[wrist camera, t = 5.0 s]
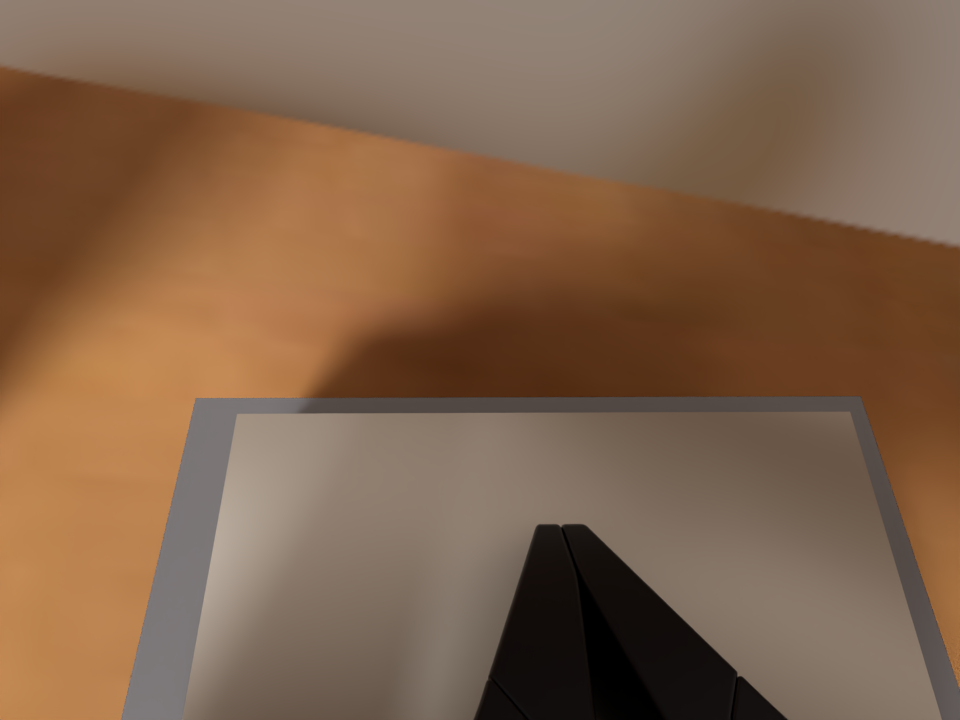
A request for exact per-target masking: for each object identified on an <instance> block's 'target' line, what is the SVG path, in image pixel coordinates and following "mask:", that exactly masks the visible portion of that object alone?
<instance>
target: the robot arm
mask: <svg viewBox="0 0 960 720" xmlns="http://www.w3.org/2000/svg"><path fill="white" fill-rule="evenodd" d="M737 677H738V678H737ZM473 720H788V719H787V718H786V717H785V716H784V715H783V714H782V713H781V712H780V711H778V710H777V709H776V708H775V707H774V706H773V705H772V704H771V703H770V702H769V701H768V700H767V699H766V698H764V697H763V696H762V695H761V694H760V693H759V692H758V691H757V690H756V689H755V688H754V687H753V686H752V685H751V684H750V683H749V682H748V681H747V680H746V679H745V678H744V677H742V676H738V672H737V671H736V670H735V669H734V668H733V667H732V666H731V665H730V664H729V663H728V662H727V661H726V660H725V659H724V658H723V657H722V656H721V655H720V654H719V653H718V652H717V651H716V650H715V649H714V648H713V647H711V646H710V645H709V644H708V643H707V642H706V641H705V640H704V639H703V638H702V637H701V636H700V635H699V634H698V633H697V632H696V631H695V630H694V629H693V628H692V627H691V626H690V625H689V624H688V623H687V622H686V621H685V620H684V619H683V618H682V617H680V616H679V615H678V614H677V613H676V612H675V611H674V610H673V609H672V608H671V607H670V606H669V605H668V604H667V603H666V602H665V601H664V600H663V599H662V598H661V597H660V596H659V595H658V594H657V593H656V592H655V591H654V590H653V589H652V588H651V587H650V586H648V585H647V584H646V583H645V582H644V581H643V580H642V579H641V578H640V577H639V576H638V575H637V574H636V573H635V572H634V571H633V570H632V569H631V568H630V567H629V566H628V565H627V564H626V563H625V562H624V561H623V560H622V559H621V558H620V557H619V556H617V555H616V554H615V553H614V552H613V551H612V550H611V549H610V548H609V547H608V546H607V545H606V544H605V543H604V542H603V541H602V540H601V539H600V538H599V537H598V536H597V535H596V534H595V533H594V532H593V531H592V530H591V529H590V528H589V527H588V526H586V525H584V524H563V525H562V526H561V527H560V526H559V525H558V524H538V525H537V526H536V528H535V531H534V534H533V537H532V540H531V543H530V546H529V550H528V553H527V556H526V559H525V562H524V565H523V568H522V572H521V575H520V578H519V581H518V584H517V587H516V590H515V594H514V597H513V600H512V603H511V606H510V609H509V612H508V616H507V619H506V622H505V625H504V628H503V631H502V634H501V638H500V641H499V644H498V647H497V650H496V653H495V656H494V660H493V663H492V666H491V669H490V672H489V675H488V680H487V681H486V684H485V687H484V690H483V693H482V696H481V699H480V702H479V705H478V708H477V711H476V714H475V716H474V719H473Z"/></svg>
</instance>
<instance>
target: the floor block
mask: <svg viewBox="0 0 960 720" xmlns="http://www.w3.org/2000/svg"><path fill="white" fill-rule="evenodd" d="M602 412H850V413H851V417H852V420H853V423H854V427H855V430H856V433H857V437H858V440H859V443H860V447H861V450H862V454H863V457H864V460H865V464H866V467H867V470H868V474H869V477H870V480H871V484H872V487H873V490H874V494H875V497H876V500H877V504H878V507H879V510H880V514H881V517H882V521H883V524H884V527H885V531H886V534H887V537H888V541H889V544H890V547H891V551H892V554H893V557H894V561H895V564H896V567H897V571H898V574H899V577H900V581H901V584H902V587H903V591H904V594H905V598H906V601H907V604H908V608H909V611H910V614H911V618H912V621H913V624H914V628H915V631H916V634H917V638H918V641H919V644H920V648H921V651H922V654H923V658H924V661H925V665H926V668H927V671H928V675H929V678H930V681H931V685H932V688H933V691H934V695H935V698H936V701H937V705H938V708H939V711H940V715H941V718H942V720H960V690H959V687H958V684H957V681H956V678H955V675H954V672H953V669H952V666H951V663H950V660H949V657H948V654H947V651H946V648H945V645H944V642H943V639H942V636H941V633H940V630H939V627H938V624H937V622H936V619H935V616H934V613H933V610H932V607H931V604H930V601H929V598H928V595H927V592H926V589H925V586H924V583H923V580H922V577H921V574H920V571H919V568H918V565H917V562H916V559H915V556H914V553H913V550H912V547H911V544H910V541H909V538H908V535H907V532H906V529H905V526H904V523H903V520H902V518H901V515H900V512H899V509H898V506H897V503H896V500H895V497H894V494H893V491H892V488H891V485H890V482H889V479H888V476H887V473H886V470H885V467H884V464H883V461H882V458H881V455H880V452H879V449H878V446H877V443H876V440H875V437H874V434H873V431H872V428H871V425H870V422H869V419H868V417H867V414H866V411H865V408H864V405H863V402H862V399H861V396H799V397H458V398H196V400H195V404H194V408H193V413H192V417H191V421H190V426H189V430H188V434H187V438H186V443H185V447H184V451H183V456H182V460H181V464H180V469H179V473H178V477H177V481H176V486H175V490H174V494H173V499H172V503H171V507H170V511H169V516H168V520H167V524H166V529H165V533H164V537H163V542H162V546H161V550H160V554H159V559H158V563H157V567H156V572H155V576H154V580H153V585H152V589H151V593H150V597H149V602H148V606H147V610H146V615H145V619H144V623H143V628H142V632H141V636H140V640H139V645H138V649H137V653H136V658H135V662H134V666H133V671H132V675H131V679H130V683H129V688H128V692H127V696H126V701H125V705H124V709H123V713H122V718H121V720H182V717H183V712H184V706H185V701H186V695H187V690H188V684H189V678H190V673H191V667H192V662H193V656H194V651H195V645H196V639H197V634H198V628H199V623H200V617H201V612H202V606H203V601H204V595H205V589H206V584H207V578H208V573H209V567H210V562H211V556H212V551H213V545H214V539H215V534H216V528H217V523H218V517H219V512H220V506H221V500H222V495H223V489H224V484H225V478H226V473H227V467H228V462H229V456H230V450H231V445H232V439H233V434H234V428H235V423H236V417H237V414H322V413H602Z"/></svg>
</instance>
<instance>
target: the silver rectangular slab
mask: <svg viewBox="0 0 960 720" xmlns="http://www.w3.org/2000/svg"><path fill="white" fill-rule="evenodd" d="M538 524H558V525H559V526H560V527H561V526H562V525H563V524H584V525H586V526H588V527H589V528H590V529H591V530H592V531H593V532H594V533H595V534H596V535H597V536H598V537H599V538H600V539H601V540H602V541H603V542H604V543H605V544H606V545H607V546H608V547H609V548H610V549H611V550H612V551H613V552H614V553H615V554H616V555H617V556H619V557H620V558H621V559H622V560H623V561H624V562H625V563H626V564H627V565H628V566H629V567H630V568H631V569H632V570H633V571H634V572H635V573H636V574H637V575H638V576H639V577H640V578H641V579H642V580H643V581H644V582H645V583H646V584H647V585H648V586H650V587H651V588H652V589H653V590H654V591H655V592H656V593H657V594H658V595H659V596H660V597H661V598H662V599H663V600H664V601H665V602H666V603H667V604H668V605H669V606H670V607H671V608H672V609H673V610H674V611H675V612H676V613H677V614H678V615H679V616H680V617H682V618H683V619H684V620H685V621H686V622H687V623H688V624H689V625H690V626H691V627H692V628H693V629H694V630H695V631H696V632H697V633H698V634H699V635H700V636H701V637H702V638H703V639H704V640H705V641H706V642H707V643H708V644H709V645H710V646H711V647H713V648H714V649H715V650H716V651H717V652H718V653H719V654H720V655H721V656H722V657H723V658H724V659H725V660H726V661H727V662H728V663H729V664H730V665H731V666H732V667H733V668H734V669H735V670H736V671H737V672H738V676H742V677H744V678H745V679H746V680H747V681H748V682H749V683H750V684H751V685H752V686H753V687H754V688H755V689H756V690H757V691H758V692H759V693H760V694H761V695H762V696H763V697H764V698H766V699H767V700H768V701H769V702H770V703H771V704H772V705H773V706H774V707H775V708H776V709H777V710H778V711H780V712H781V713H782V714H783V715H784V716H785V717H786V718H787V719H788V720H942V718H941V715H940V711H939V708H938V705H937V701H936V698H935V695H934V691H933V688H932V685H931V681H930V678H929V675H928V671H927V668H926V665H925V661H924V658H923V654H922V651H921V648H920V644H919V641H918V638H917V634H916V631H915V628H914V624H913V621H912V618H911V614H910V611H909V608H908V604H907V601H906V598H905V594H904V591H903V587H902V584H901V581H900V577H899V574H898V571H897V567H896V564H895V561H894V557H893V554H892V551H891V547H890V544H889V541H888V537H887V534H886V531H885V527H884V524H883V521H882V517H881V514H880V510H879V507H878V504H877V500H876V497H875V494H874V490H873V487H872V484H871V480H870V477H869V474H868V470H867V467H866V464H865V460H864V457H863V454H862V450H861V447H860V443H859V440H858V437H857V433H856V430H855V427H854V423H853V420H852V417H851V413H850V412H602V413H322V414H237V417H236V423H235V428H234V434H233V439H232V445H231V450H230V456H229V462H228V467H227V473H226V478H225V484H224V489H223V495H222V500H221V506H220V512H219V517H218V523H217V528H216V534H215V539H214V545H213V551H212V556H211V562H210V567H209V573H208V578H207V584H206V589H205V595H204V601H203V606H202V612H201V617H200V623H199V628H198V634H197V639H196V645H195V651H194V656H193V662H192V667H191V673H190V678H189V684H188V690H187V695H186V701H185V706H184V712H183V717H182V720H473V719H474V716H475V714H476V711H477V708H478V705H479V702H480V699H481V696H482V693H483V690H484V687H485V684H486V681H487V680H488V675H489V672H490V669H491V666H492V663H493V660H494V656H495V653H496V650H497V647H498V644H499V641H500V638H501V634H502V631H503V628H504V625H505V622H506V619H507V616H508V612H509V609H510V606H511V603H512V600H513V597H514V594H515V590H516V587H517V584H518V581H519V578H520V575H521V572H522V568H523V565H524V562H525V559H526V556H527V553H528V550H529V546H530V543H531V540H532V537H533V534H534V531H535V528H536V526H537V525H538ZM737 678H738V677H737Z"/></svg>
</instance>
